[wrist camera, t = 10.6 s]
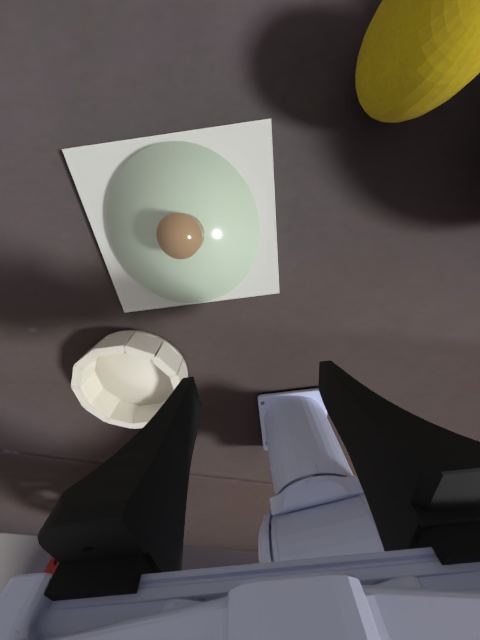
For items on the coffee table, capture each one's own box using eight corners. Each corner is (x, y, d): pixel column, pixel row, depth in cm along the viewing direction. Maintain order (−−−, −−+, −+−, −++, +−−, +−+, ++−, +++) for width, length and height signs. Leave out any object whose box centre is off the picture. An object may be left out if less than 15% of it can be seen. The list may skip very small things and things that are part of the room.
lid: (258, 298, 20) (263, 312, 17) (131, 303, 20) (114, 319, 17) (259, 141, 15) (267, 124, 12) (90, 145, 15) (57, 129, 12)
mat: (278, 290, 20) (279, 292, 20) (127, 309, 21) (124, 312, 20) (269, 121, 15) (270, 118, 14) (67, 151, 15) (61, 149, 15)
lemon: (316, 110, 15) (395, 14, 8) (372, -2, 13) (553, -280, 6) (379, 156, 16) (498, 110, 9) (439, 60, 14) (660, -102, 7)
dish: (196, 400, 26) (192, 422, 23) (112, 410, 26) (98, 433, 23) (175, 323, 21) (166, 340, 19) (73, 336, 22) (51, 354, 19)
